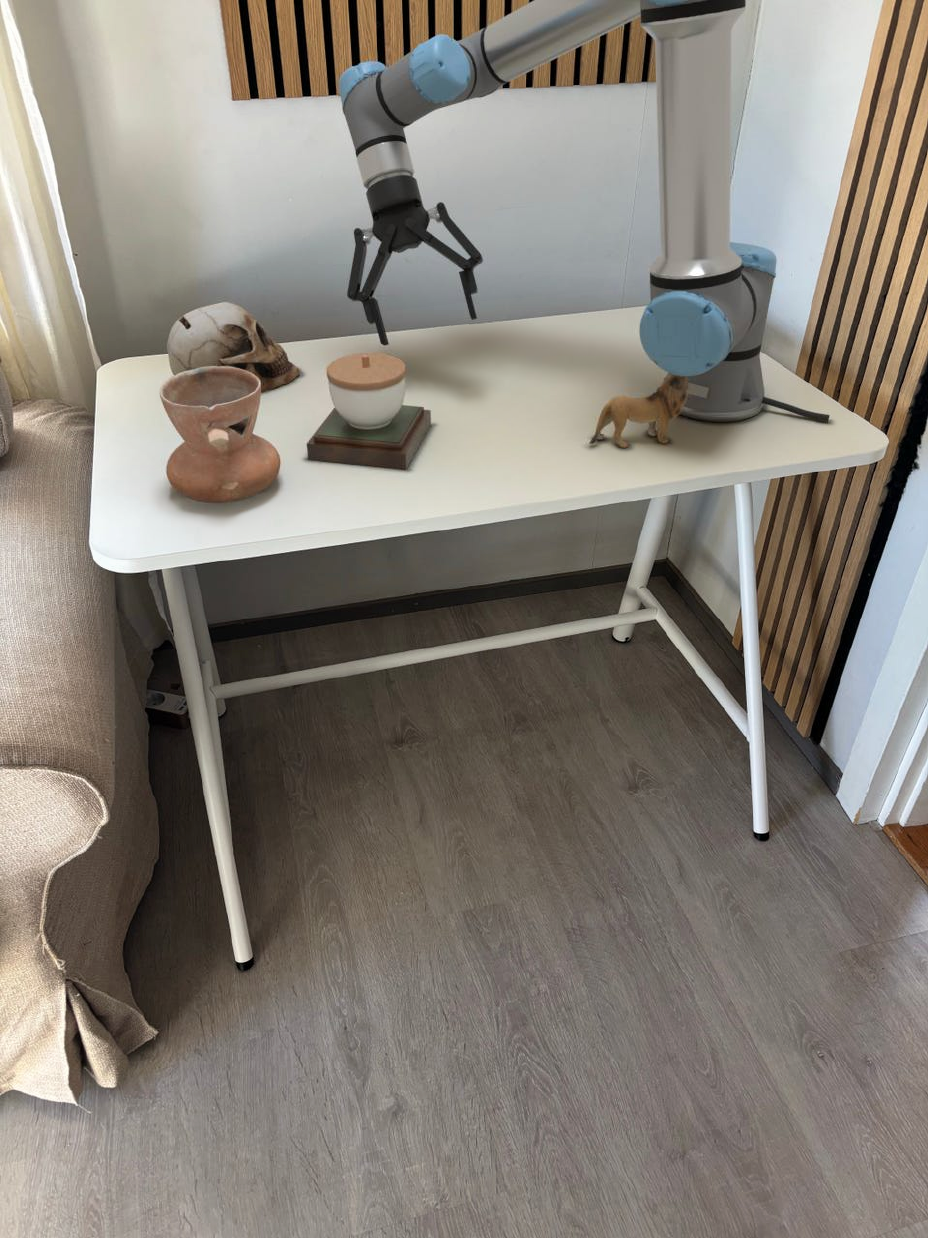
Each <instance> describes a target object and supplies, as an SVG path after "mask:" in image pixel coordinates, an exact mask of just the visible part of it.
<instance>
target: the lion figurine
mask: <svg viewBox="0 0 928 1238" xmlns="http://www.w3.org/2000/svg"><path fill="white" fill-rule="evenodd" d="M666 376H667V375H666ZM666 376H665V377H663V382H662V384H661V385H660V386H658V387H657V388H656V391H654V392H653V393H652V394H650V395H648V396H644V397H630V396H625V395H617V396H614V397H612V398H611V399H609V401H607V402H606V403H605V405H604V406H603V408H602V410H601V412H600V413H599V417H598V421H597V424H596V427H595V432H594V436H593V437H592V438H591V439H590V441H589V442H588V444H589V445H593V444H595V443H596V441H597V440H599V441H600V440H603V439H604V438H605V434H604V433H602V431H603V429H604V428H605V427H606V426H608V425H610V424H611V423H612V422H613V427H614V432H613V438H614V440H615V441H616V444H617V445H618V446H619V447H620V448H628V446H629V445H628V442H627V441H625V440H623V438H622V434H623V431H624V429H625V427H626V426H627V423H628V422H627V421H628V420H629V421H630V422H632V423H635V424H648V429H647V434H648V435H649V436H651V437H653V436H657V438H658V442H660V443H662V444H667V443H668V442H669V439H668V438H667V437H665V435H666V433H667V430H668V426H669V421H671V420H673V419H676V418H677V417H678V416H679V415H681V414H680V413H681V411H682V408H683V407H684V404H685V403H686V401H687V397H688V395H689V393H690V387H689V383H688V377H686V376H678V375H674V374H672V375H668V376H667V377H666ZM656 425H658V430H656Z"/></svg>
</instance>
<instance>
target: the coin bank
mask: <svg viewBox="0 0 928 1238" xmlns="http://www.w3.org/2000/svg"><path fill="white" fill-rule="evenodd" d="M166 351H167V355H168V362H169V367H170V370H171V373H172V375H173V376H175V375H177V374H179V373H181V372H184V371H189V370H193V369H197V368H200V367H207V366H217V367H220V366H229V367H235V368H239V369H242V370H246V371H248V372H251V373H252V374H254V375H255V376H257V377H258V378H259V380H260V382H261V392H263V391H269V390H272V389H274V388H278V387H279V386H281V385H288V384H289V383H291V382H292V381H293V380H294V379H295V378H296V377H298V376H300V375H301V371H300V369H299V368H298V366H296V364H294V363H292V362H291V361H290V360H289V357H288V353H287V352H286V351H285V350H284V347H282V346H281V344H279V343H278V342H276V341H274V340H272V339H270V337H268V335H267V333H266V332H265V330H264V325H262V324H259V322H258V320H257V319H255V317H254V316H253V314H252V313H249V312H248V311H247V310H246V309H245V308H243V307H241V306H240V305H238V304H235V303H233V302H229V301H223V302H219V303H213V304H210V305H206V306H201V307H198V308H196V309H193V310H191V311H189V312H187V313H184V314H183V315H182V316H180V318H178V319H177V320H176V321H175V322H174V324H173V326H172V327H171V329H170V332H169V335H168V338H167V343H166Z"/></svg>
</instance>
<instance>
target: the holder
mask: <svg viewBox="0 0 928 1238" xmlns="http://www.w3.org/2000/svg"><path fill="white" fill-rule="evenodd" d="M424 407H425V406H416V405H405V404H402V406H401V409H400V410H399V412H398V413H397V414H396V416H395V417H394V418H393V419H392V420H391V422H390V423H389V424H388V425H387V426H385V427H382V428H378V429H371V430H364V429H358V428H355V427H352V426H351V425H350V424H349V423H348V421H346V420H345V419H344V418H343V417H342V416H341V415H340V414H339V413H338V412H337V410H336V408H335V407H334V408H333V409H332V410H331V411H330V413H329V414H328V415H327V417H326V418H325V419H324V420H323V422H322V423H321V424H320V425H319V427H318V428H317V429H316V431H315V432H314V433H313V435H312V436H311V437H310V438H309V440H308V441H307V442H306V453H307V459H308V460H309V461H319V462H327V463H337V464H339V463H340V464H348V465H358V466H368V467H376V468H377V467H378V468H388V469H398V470H407V469H408V467H409V466H410V463H411V462H412V460H413V459H414V457H415V455H416V453H417V451H418V449H419V447H420V446H421V444H422V442H423V440H424V439H425V437H426V435H427V433H428V431H429V430H430V428H431V426H432V410H431V409H425V408H424Z"/></svg>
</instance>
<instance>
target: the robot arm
mask: <svg viewBox="0 0 928 1238" xmlns="http://www.w3.org/2000/svg"><path fill="white" fill-rule="evenodd" d="M746 4H747V2H746V0H532V1H530V2H529V3H527V4H525V5H523V6H521V7H519V8H518V9H516V10H514V11H513V12H510V13H508V14H507V15H505V16H503V17H501V18H500V19H498V20H496V21H494V22H492V23H491V24H489V25H487V26H485V27H484V28H481V29H480V30H477V31H476V32H474V33H472V34H470V35H469V36H467V37H465V38H463V39H459V40H456V39H454V38H451V37H450V36H449V35H448V34H443V33H442V34H436V35H435V36H433V37H431V38H429V39H428V40H427V41H422V42H421V43H419V44H418V45H416V47H415V48H414V49H412V50H411V51H409V52H408V53H407V54H405V55H404V56H403V57H402V58H399V59H398V60H397V61H395V62H394V63H392V64H391V65H390V66H388V67H387V66H386V65H385V64H384V63H382V62H381V61H374V60H373V61H364V62H360V63H358V64H357V65H354V66H353V65H352V66H350V67H349V68H347V69H346V70H345V71H344V72H343V73H342V74H341V75H340V77H339V80H338V90H339V95H340V100H341V105H342V107H341V108H342V109H341V110H342V114H343V115H344V118H345V121H346V124H347V125H346V126H347V128H348V131H349V134H350V138H351V141H352V144H353V148H354V152H355V157H356V163H357V166H358V170H359V173H360V177H361V181H362V184H363V187H364V189H366V192H365V195H366V199H367V203H368V207H369V210H370V214H371V218H372V226H371V227H369V228H363V229H361V228H359V227H356V228H355V229H354V230H353V238H354V243H355V245H354V246H355V247H354V253H353V257H352V263H351V269H350V275H349V281H348V286H347V292H346V296H347V298H348V299H349V300H351V302H361V303H362V307H363V311H364V314H365V319H366V321H367V322H368V324H370V325H374V324H375V327H376V331H377V335H378V339H379V343H380V344H381V345H382V346H389V345H390V342H389V339H388V336H387V332H386V328H385V324H384V321H383V317H382V313H381V310H380V305H379V301H378V300H377V299H376V298H375V297H373V296H374V294H375V291H377V287H378V285H379V282H380V280H381V278H382V275H383V273H384V271H385V268H386V266H387V264H388V262H389V260H390V259H391V257H392V255H393V252H394V253H397V254H401V253H403V252H405V251H407V250H410V249H411V250H412V249H417V248H419V246H420V245H421V244H422V243H424V244H426V245H427V246H428V247H430V248H431V249H433V250H435V251H436V252H437V253H439V254H441V255H442V256H443V257H444V258H446V259H447V260H449V262H452V263H453V264H454V265H456V266H457V267H458V268H459V269H461V270H460V271H459V272H458V274H459V278H460V282H461V286H462V290H463V293H464V297H465V302H466V305H467V310H468V314H469V317H470V319H471V321H473V320H477V319H478V315H477V313H476V309H475V305H474V301H473V297H472V296H473V295H476V294H477V293H478V286H477V285H478V284H477V281H476V278H475V274H474V273H475V272H474V270H475V268H476V267H478V266H479V265H481V264H483V262H484V257H483V255H482V254H481V252H480V251H479V250H478V248H476V246H475V245H474V244H473V243H472V241H470V239H469V238H468V237H467V236H466V235H465V234H464V232H463V231H462V230H461V228H460V227H459V226H458V225H457V224H456V223H455V221H453V220H452V218H451V217H450V215H449V212H448V209H447V207H446V205H445V203H444V202H442V201H440V202H439V201H438V203H436V205H435V206H434V207H433V208H430V209H427V210H426V209H425V207H424V203H423V200H422V197H421V192H420V188H419V184H418V180H417V179H416V178H415V177H414V175H415V169H414V165H413V161H412V157H411V153H410V150H409V146H408V143H407V137H406V134H405V130H404V129H405V128H407V127H409V126H410V125H412V124H413V123H415V122H417V121H418V120H420V119H422V118H423V117H425V116H427V115H428V114H431V113H432V112H434V111H436V110H437V111H438V110H439V109H442V108H446V107H449V106H452V105H457V104H459V103H463V102H465V101H469V100H472V99H473V100H474V99H481V98H484V97H487V96H489V95H491V94H493V93H495V92H496V91H498V90H499V89H501V87H502V86H504V85H506V84H507V83H509V82H511V81H513V80H515V79H517V78H519V77H521V76H523V75H525V74H527V73H530V72H531V71H533V70H535V69H537V68H539V67H541V66H543V65H545V64H548V63H550V62H551V61H554V60H555V59H558V58H559V57H562V56H563V55H566V54H567V53H570V52H571V51H573V50H576V49H578V48H580V47H581V46H583V45H586V44H588V43H590V42H592V41H593V40H596V39H598V38H600V37H601V36H604V35H606V34H608V33H610V32H612V31H614V30H615V29H618V28H620V27H622V26H624V25H627V24H628V23H630V22H632V21H634V20H636V19H638V18H640V26H641V28H642V29H643V30H644V31H645V32H646V33H647V34H648V36H650V37H651V38H652V39H653V43H654V52H655V53H654V55H655V56H654V57H655V87H656V89H655V90H656V91H655V92H656V121H657V155H658V156H657V157H658V158H657V159H658V161H657V162H658V192H659V193H658V195H659V197H658V198H659V224H660V225H659V228H660V253H659V256H658V258H656V260H655V261H654V262H653V263H652V264H651V266H650V267H649V292H650V293H649V294H650V301H649V303H648V304H647V306H646V307H645V308H644V310H643V313H642V316H641V318H640V322H639V329H638V330H639V332H638V334H639V339H640V344H641V347H642V349H643V351H644V353H645V354H646V356H647V357H648V358H649V360H650V361H652V362H653V363H654V364H655V365H656V366H657V367H658V368H659V369H660V370H662V371H663V372H666V376H665V377H667V376H668V375H672V374H674V375H678V376H686V377H688V383H689V387H690V393H689V395H688V397H687V401H686V403H685V404H684V407H683V408H682V411H681V413H680V414H679V415H681V416H684V417H687V418H691V419H693V420H694V419H695V420H700V421H706V422H718V423H719V422H721V423H722V422H725V423H727V422H736V421H742V420H746V419H749V418H752V417H754V416H756V415H758V414H759V413H760V412H761V411H762V409H763V406H764V405H767V406H771V407H774V408H776V409H780V410H783V411H787V412H789V413H793V414H795V415H798V416H801V417H804V418H808V419H812V420H818V421H823V422H829V419H830V414H826V413H819V412H814V411H810V410H808V409H807V410H806V409H803V408H800V407H797V406H795V405H792V404H790V403H786V402H784V401H783V402H782V401H779V400H776V399H773V398H770V397H766V396H765V386H764V385H765V384H764V377H763V371H762V364H761V357H760V356H761V349H762V346H763V345H762V344H763V339H764V334H765V329H766V324H767V318H768V312H769V309H770V302H771V299H772V298H771V297H772V292H773V287H774V280H775V279H776V277H777V272H776V270H777V261H778V260H777V256H776V254H775V253H774V252H773V251H772V250H771V249H768V248H766V247H763V246H758V245H754V244H749V243H742V242H734V241H731V236H730V235H731V138H732V137H731V136H732V135H731V129H732V128H731V127H732V126H731V122H732V119H731V118H732V31H733V28H734V26H735V24H736V23H737V21H738V20H739V19H740V18H741V17H742V15H743V14H744V13H745V12H746ZM432 219H433V220H435V222H436V223H437V224H443V226H444V228H445V229H446V230H447V231H448V232H449V234H450V235H451V236H452V237H453V238H454V239H455V240H456V242H457V243H458V244H459V245H460V246H461V248H462V249H463V250H464V251H465V252H466V254H468V256H469V258H467V259H466V258H465V257H464V256H463V255H461V254H459V252H457V251H455V250H454V249H453V248H451V247H450V246H448V245H447V244H446V243H445V242H442V241H441V240H440V239H439V238H437V237H436V236H434V234H432V233H431V232H430V231H428V227H429V225H430V221H431V220H432ZM373 237H375V238H376V239H377V240H378V241H379V242H380V245H379V247H378V249H377V254H376V256H375V258H374V261H373V263H372V265H371V268H370V270H369V273H368V275H367V277H366V280H365V282H364V284H363V287H362V281H363V275H364V269H365V263H366V258H367V251H368V248H367V247H368V246H369V245H370V244H371V240H372V239H373ZM361 287H362V289H361Z"/></svg>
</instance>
